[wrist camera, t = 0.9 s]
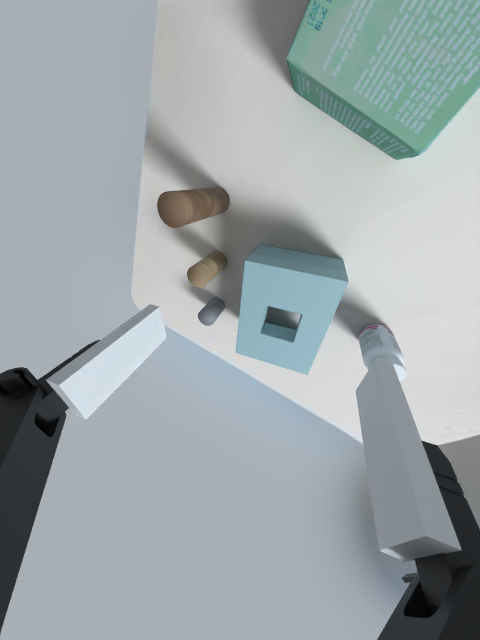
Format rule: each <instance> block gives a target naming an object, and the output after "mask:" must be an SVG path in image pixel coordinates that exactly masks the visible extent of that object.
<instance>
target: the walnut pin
mask: <svg viewBox="0 0 480 640" xmlns="http://www.w3.org/2000/svg"><path fill="white" fill-rule="evenodd" d="M229 204H230V199H229V195H228V193H227V192H226V191H225V190H224V189H222V188H207V189H194V190H181V191H168V192H164V193H162V194H161V195H160V197H159V199H158V203H157V207H158V212H159V215H160V217H161V219H162V220H163V222H164V223H165V224H166V225H168V226H170V227H172V228H178V227H181V226H184V225H187V224H190V223H193V222H196V221H199V220H202V219H205V218H208V217H211V216H214V215H217V214H220V213H223V212H225V211H226V210H227V209H228V207H229Z"/></svg>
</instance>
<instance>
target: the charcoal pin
mask: <svg viewBox="0 0 480 640" xmlns="http://www.w3.org/2000/svg"><path fill="white" fill-rule="evenodd" d="M224 308H225V305H224V302H223V301H222V300H221V299H219V298H212V299H211V300H210V301H209V302H208V303H207V305H206V306H205V307H204V308H203V309H202V310H201V311H200V312H199V313H198V318H199V320H200V322H201V323H203V324H204V325H207V326H210V325H212V324H213V323H214V322H215V321H216V319H217V318H218V317H219V315H220V314H221V313H222V311H223V310H224Z"/></svg>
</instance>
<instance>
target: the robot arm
mask: <svg viewBox="0 0 480 640" xmlns="http://www.w3.org/2000/svg"><path fill="white" fill-rule="evenodd" d="M165 339H166V333H165V329H164V324H163V320H162V315H161V311H160V307H159V306H154V305H149V306H147V307H146V308H144V309H143V310H142V311H140V312H139V313H138V314H136V315H135V316H133V317H132V318H131V319H129V320H128V321H126V322H125V323H124V324H122V325H121V326H120V327H119V328H117V329H116V330H114V331H113V332H111V333H110V334H109V335H107V336H106V337H104V338H103V339H102V340H98V341H95V342H93V343H91V344H89V345H87V346H86V347H84V348H83V349H81V350H80V351H79V352H78V353H76V354H74V355H73V356H72V357H71V358H69V359H67V360H66V361H64V362H63V363H61V364H60V365H59V366H57V367H56V368H54V369H53V370H52V371H50V372H49V373H47V374H46V375H44V376H43V377H42V378H40V379H38V380H37V379H36V378H35V377H34V376H33V375H32V374H31V372H29V370H28V369H27V368H23V367H20V368H14V369H10V370H7V371H5V372H3V373H1V374H0V632H1V629H2V625H3V622H4V619H5V615H6V612H7V609H8V606H9V602H10V599H11V595H12V592H13V589H14V586H15V583H16V579H17V576H18V573H19V570H20V566H21V563H22V560H23V557H24V553H25V550H26V547H27V543H28V540H29V537H30V534H31V530H32V527H33V524H34V520H35V517H36V514H37V510H38V507H39V504H40V501H41V497H42V494H43V491H44V487H45V484H46V481H47V478H48V475H49V471H50V468H51V465H52V461H53V458H54V455H55V451H56V448H57V444H58V442H59V438H60V435H61V431H62V429H63V425H64V422H65V419H66V413H65V411H66V410H67V409H68V408H69V409H70V410H71V411H72V412H73V413H74V415H77V416H79V417H81V418H84V419H87V418H88V417H89V416H90V415H91V414H92V413H93V412H94V411H95V410H96V409H97V408H98V407H99V406H100V405H101V404H102V403H103V402H104V401H105V400H106V399H107V398H108V397H109V396H110V395H111V394H112V393H113V392H114V391H115V390H116V389H117V388H118V387H119V386H120V385H121V384H122V382H124V381H125V380H126V379H127V378H128V377H129V376H130V374H131V373H132V372H133V371H134V370H135V369H136V368H137V367H138V366H139V365H140V364H141V363H142V362H143V361H144V360H145V359H146V358H147V357H148V356H149V355H150V354H151V353H152V352H153V351H154V350H155V349H156V348H157V347H158V346H159V345H160V344H161V343H162V342H163V341H164V340H165ZM356 396H357V403H358V410H359V417H360V423H361V430H362V437H363V444H364V450H365V457H366V464H367V471H368V478H369V484H370V490H371V497H372V505H373V512H374V517H375V525H376V532H377V538H378V546H379V550H380V551H382V552H384V553H386V554H389V555H391V556H393V557H395V558H398V559H400V560H402V561H405V562H406V561H411V560H415V562H416V566H417V571H418V573H412V574H406V575H405V576H404V577H402V579H403V580H404V582H405V583H407V582H411V583H410V585H409V586H408V588H407V590H406V591H405V593H404V595H403V596H402V598H401V600H400V601H399V603H398V605H397V607H396V608H395V610H394V612H393V613H392V615H391V617H390V619H389V620H388V622H387V624H386V625H385V627H384V629H383V631H382V632H381V634H380V636H379V637H378V640H480V529H479V527H478V525H477V522H476V520H475V518H474V516H473V513H472V511H471V509H470V507H469V504H468V502H467V500H466V498H464V493H463V491H462V488H461V486H460V484H459V483H458V482H457V480H458V479H457V477H456V475H455V473H454V470H453V468H452V466H451V464H450V462H449V460H448V459H447V458H446V457H445V455H444V454H443V453H442V451H441V450H440V449H439V447H438V446H437V445H434V444H430V443H427V442H424V441H421V438H420V436H419V433H418V430H417V427H416V425H415V422H414V419H413V417H412V414H411V411H410V409H409V406H408V403H407V400H406V398H405V395H404V392H403V390H402V387H401V384H400V381H399V379H398V376H397V373H396V371H395V368H394V365H393V363H391V362H387V361H383V360H379V359H375V361H374V363H373V364H372V366H371V367H370V369H369V371H368V372H367V374H366V375H365V377H364V379H363V380H362V382H361V383H360V385H359V387H358V388H357V390H356Z"/></svg>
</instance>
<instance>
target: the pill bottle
mask: <svg viewBox="0 0 480 640" xmlns="http://www.w3.org/2000/svg"><path fill="white" fill-rule="evenodd" d="M358 339H359V343H360V348H361V352H362V356H363V361H364V364H365V366H366V367H367V369H368V370H369V369H370V367H371V366H372V364H373V363H374V361H375V359H379V360H383V361H387V362H391V363H393V365H394V368H395V371H396V373H397V376H398V379H399V381H400V382H401V381H402V380H403V379H404V378H405V377H406V370H405V367H404V357H403V355H402V352H401V350H400V348H399V346H398V344H397V341H396V339H395V337H394V335H393V333H392V331H391V330H390V329H389V328H388V327H386V326H383V325H370V326H367V327H365V328H364V329H362V330H361V332H360V333H359V336H358Z"/></svg>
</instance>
